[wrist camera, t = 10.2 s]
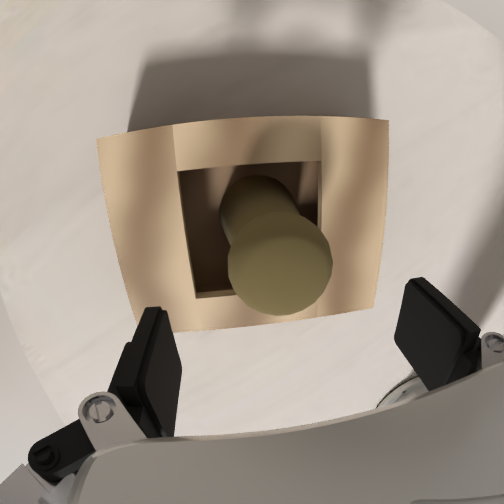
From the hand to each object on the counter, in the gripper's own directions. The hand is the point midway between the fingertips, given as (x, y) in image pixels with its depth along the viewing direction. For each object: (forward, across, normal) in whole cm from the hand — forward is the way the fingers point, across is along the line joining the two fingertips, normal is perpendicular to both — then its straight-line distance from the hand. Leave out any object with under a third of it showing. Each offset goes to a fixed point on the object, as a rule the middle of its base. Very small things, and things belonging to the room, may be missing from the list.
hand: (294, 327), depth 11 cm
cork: (+14, 0, -1) cm, 14 cm away
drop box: (+14, +1, -1) cm, 15 cm away
